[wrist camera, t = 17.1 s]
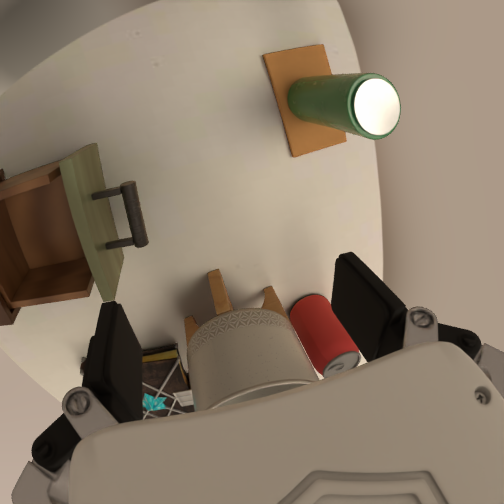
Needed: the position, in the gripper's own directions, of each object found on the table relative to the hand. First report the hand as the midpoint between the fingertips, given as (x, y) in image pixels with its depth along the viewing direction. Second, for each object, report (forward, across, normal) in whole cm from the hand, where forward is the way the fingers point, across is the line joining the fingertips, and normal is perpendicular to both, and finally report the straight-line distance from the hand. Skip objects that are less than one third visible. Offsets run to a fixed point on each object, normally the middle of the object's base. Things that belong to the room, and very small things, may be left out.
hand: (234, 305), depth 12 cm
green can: (+20, -13, -7) cm, 25 cm away
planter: (+21, -1, +18) cm, 28 cm away
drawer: (+20, +14, +1) cm, 25 cm away
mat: (+21, -13, -7) cm, 26 cm away
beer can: (+21, -13, +23) cm, 34 cm away
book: (+22, +15, +34) cm, 43 cm away
